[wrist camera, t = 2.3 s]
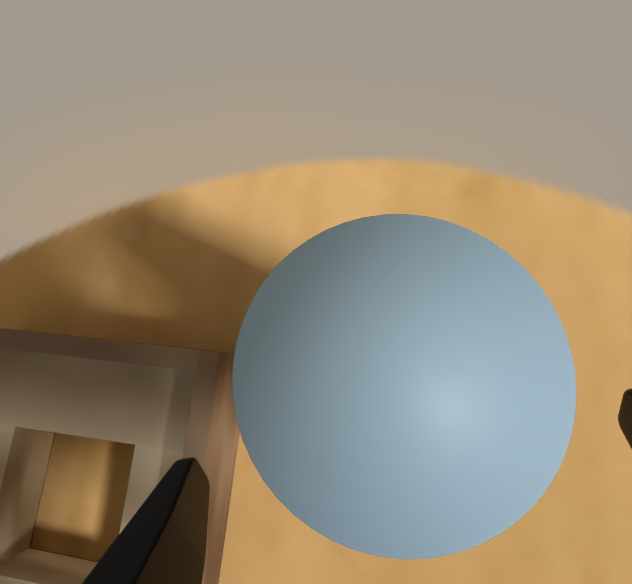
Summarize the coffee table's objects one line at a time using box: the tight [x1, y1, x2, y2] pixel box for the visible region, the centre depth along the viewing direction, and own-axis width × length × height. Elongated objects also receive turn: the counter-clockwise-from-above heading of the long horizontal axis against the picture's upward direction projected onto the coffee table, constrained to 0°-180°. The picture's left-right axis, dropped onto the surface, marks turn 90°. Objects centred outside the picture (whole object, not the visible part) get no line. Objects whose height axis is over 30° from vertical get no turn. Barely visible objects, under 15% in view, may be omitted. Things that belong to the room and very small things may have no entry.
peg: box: [232, 214, 576, 559], centre depth 12 cm, size 4×4×14 cm
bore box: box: [0, 328, 240, 584], centre depth 18 cm, size 14×13×4 cm
